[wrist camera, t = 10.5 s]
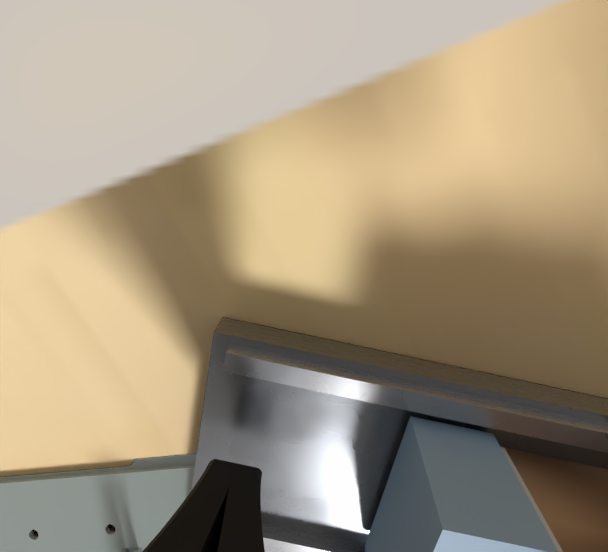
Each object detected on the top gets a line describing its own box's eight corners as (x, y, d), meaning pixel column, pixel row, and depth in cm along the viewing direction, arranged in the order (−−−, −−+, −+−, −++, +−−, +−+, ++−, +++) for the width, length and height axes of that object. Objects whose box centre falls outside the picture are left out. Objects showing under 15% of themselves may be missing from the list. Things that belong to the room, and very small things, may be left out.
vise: (705, 419, 12) (923, 583, 8) (597, 585, 15) (716, 784, 10) (223, 317, 12) (159, 422, 8) (195, 501, 15) (134, 662, 10)
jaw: (503, 435, 11) (573, 556, 8) (445, 562, 13) (484, 706, 10) (410, 416, 11) (443, 529, 8) (364, 545, 13) (376, 683, 10)
